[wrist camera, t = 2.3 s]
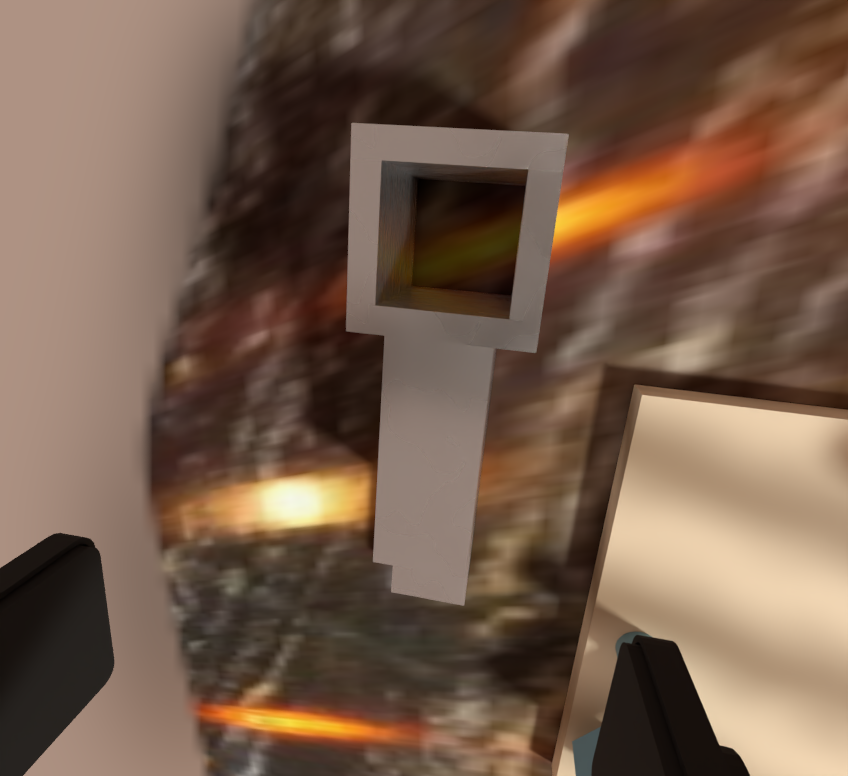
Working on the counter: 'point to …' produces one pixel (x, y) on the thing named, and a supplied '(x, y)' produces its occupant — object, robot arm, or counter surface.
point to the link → (439, 334)
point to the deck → (728, 574)
